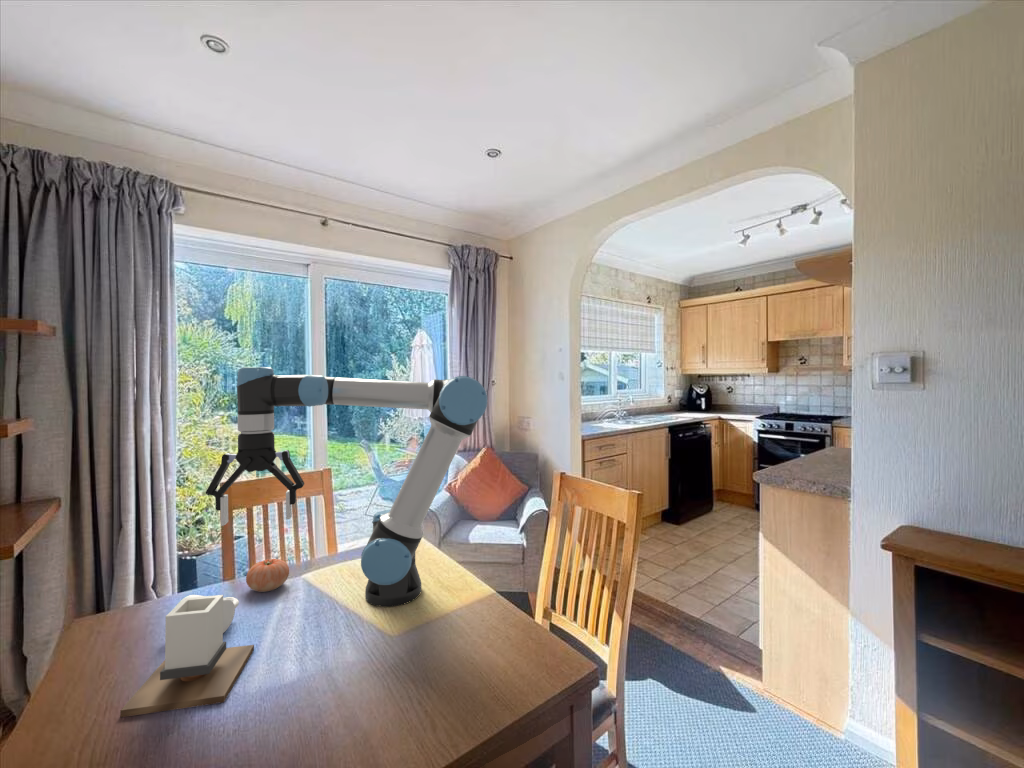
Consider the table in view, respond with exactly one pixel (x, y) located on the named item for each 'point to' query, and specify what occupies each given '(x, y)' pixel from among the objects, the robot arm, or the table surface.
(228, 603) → the mug
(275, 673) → the table surface
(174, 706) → the peg stacking board
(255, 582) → the pumpkin
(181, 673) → the ring
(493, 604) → the table surface
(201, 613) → the sleeve
